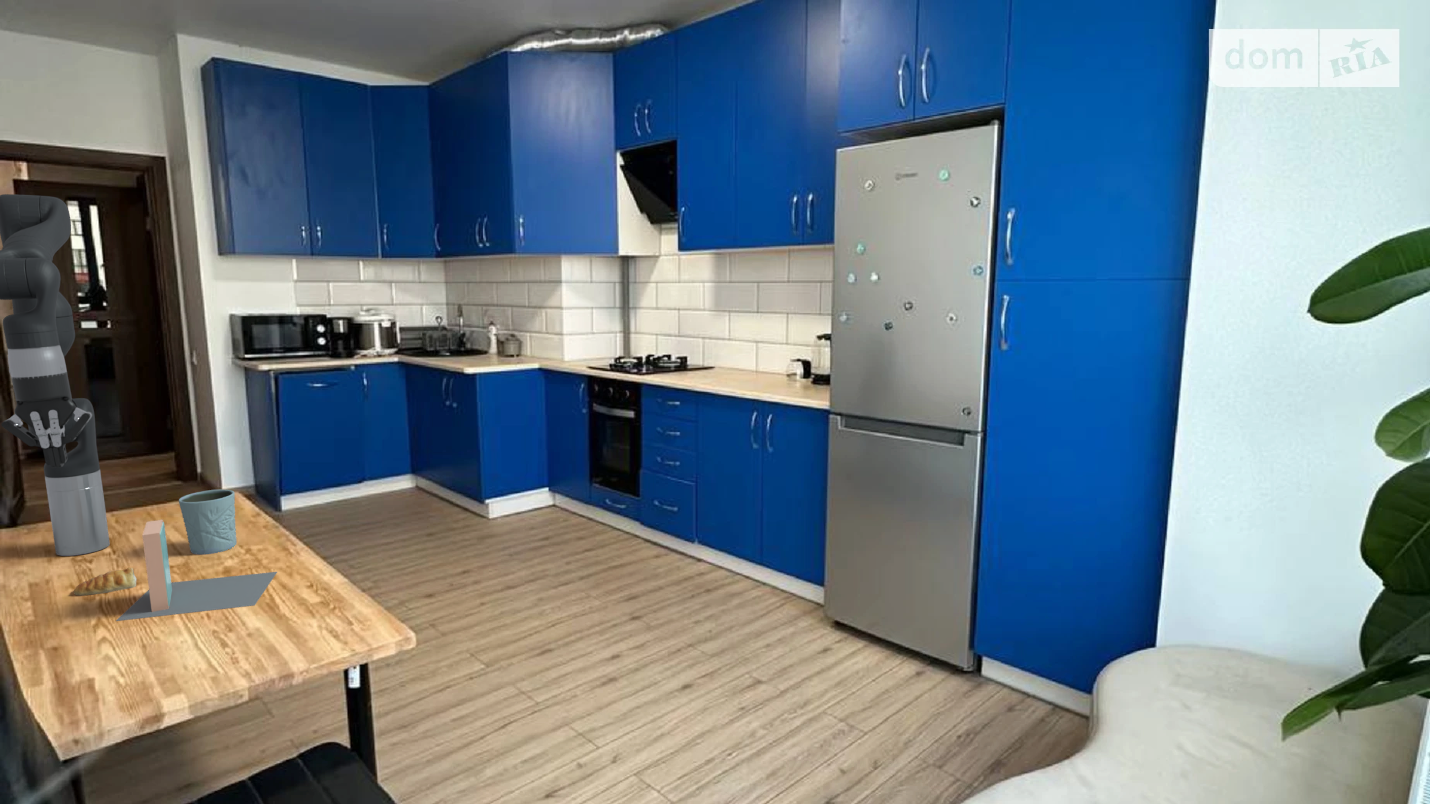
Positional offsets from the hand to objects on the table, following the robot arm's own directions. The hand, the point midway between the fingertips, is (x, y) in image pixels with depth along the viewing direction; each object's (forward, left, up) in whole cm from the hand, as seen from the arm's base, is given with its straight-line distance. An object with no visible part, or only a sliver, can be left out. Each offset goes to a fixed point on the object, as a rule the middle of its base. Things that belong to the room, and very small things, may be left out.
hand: (57, 466), depth 140 cm
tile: (+10, +17, -24) cm, 31 cm away
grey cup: (-22, +16, -25) cm, 37 cm away
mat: (+8, +23, -25) cm, 35 cm away
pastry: (-1, +5, -25) cm, 26 cm away
